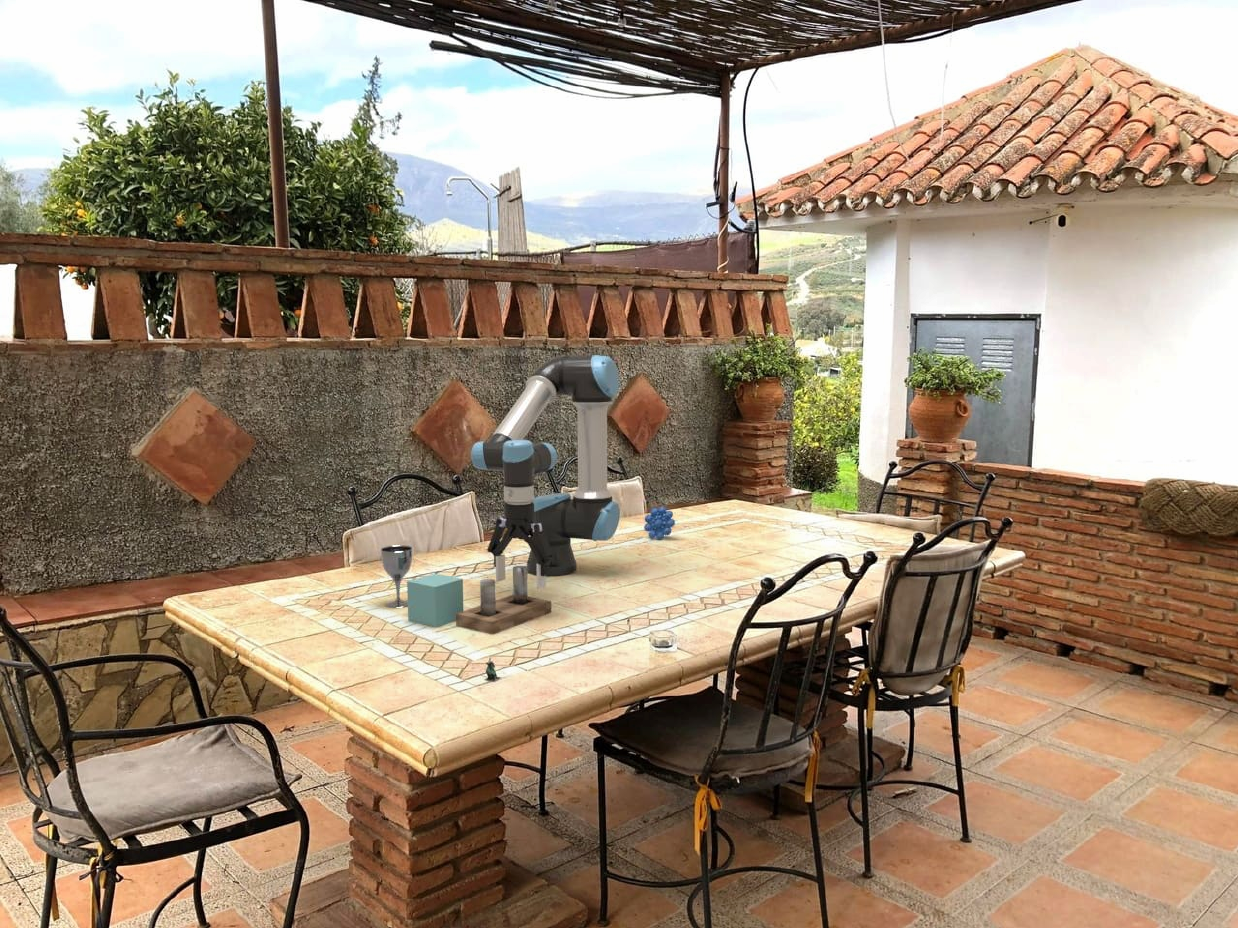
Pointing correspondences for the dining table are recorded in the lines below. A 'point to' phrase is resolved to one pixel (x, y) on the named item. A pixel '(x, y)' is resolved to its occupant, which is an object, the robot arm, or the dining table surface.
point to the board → (500, 611)
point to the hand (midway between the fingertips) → (520, 584)
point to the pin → (520, 585)
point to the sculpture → (491, 672)
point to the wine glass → (397, 568)
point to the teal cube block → (434, 599)
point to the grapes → (659, 522)
